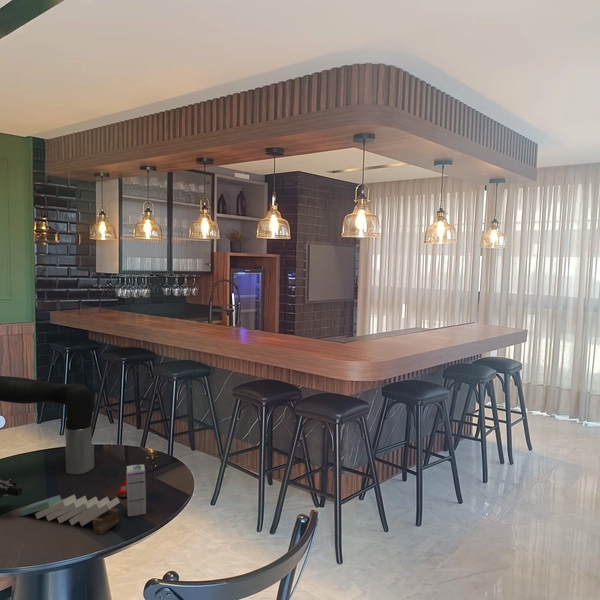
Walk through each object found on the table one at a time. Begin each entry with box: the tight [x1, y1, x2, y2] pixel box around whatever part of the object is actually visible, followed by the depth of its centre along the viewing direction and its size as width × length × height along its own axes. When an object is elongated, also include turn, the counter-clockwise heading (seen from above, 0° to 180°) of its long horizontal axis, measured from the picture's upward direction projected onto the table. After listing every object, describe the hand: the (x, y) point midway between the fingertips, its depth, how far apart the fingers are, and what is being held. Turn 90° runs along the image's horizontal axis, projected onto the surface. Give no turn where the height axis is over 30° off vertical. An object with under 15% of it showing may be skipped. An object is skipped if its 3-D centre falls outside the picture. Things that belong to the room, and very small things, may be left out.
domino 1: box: [19, 494, 62, 517], centre depth 160 cm, size 2×5×12 cm
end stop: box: [92, 507, 120, 535], centre depth 152 cm, size 3×8×4 cm, turn 163°
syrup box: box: [125, 463, 147, 517], centre depth 162 cm, size 6×6×14 cm
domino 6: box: [78, 496, 121, 527], centre depth 153 cm, size 2×5×12 cm
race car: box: [116, 477, 127, 499], centre depth 178 cm, size 13×5×4 cm, turn 1°
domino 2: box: [34, 494, 77, 520], centre depth 158 cm, size 2×5×12 cm
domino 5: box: [68, 496, 111, 526], centre depth 154 cm, size 2×5×12 cm
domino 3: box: [45, 495, 88, 522], centre depth 157 cm, size 2×5×12 cm
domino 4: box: [56, 496, 100, 524], centre depth 155 cm, size 2×5×12 cm
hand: (19, 492), depth 158 cm, fingers closed
